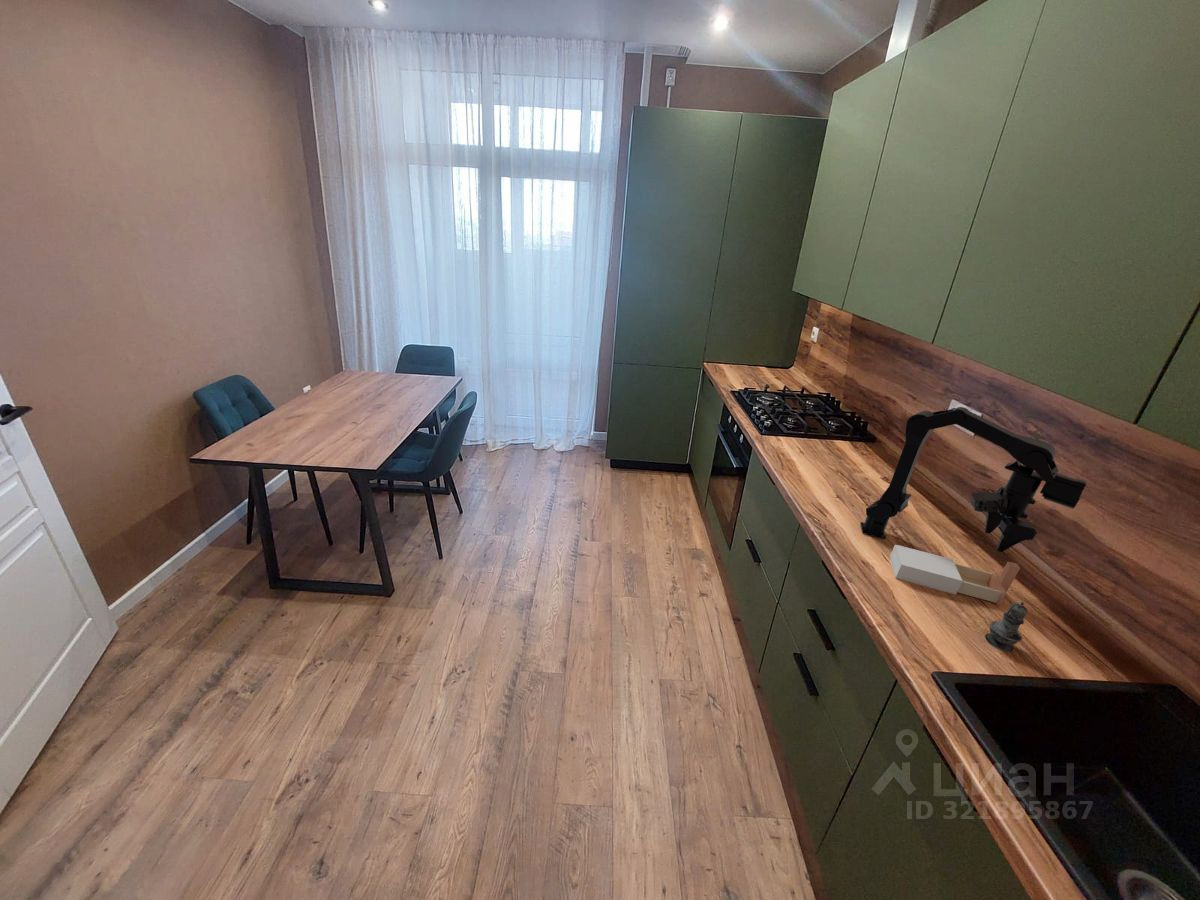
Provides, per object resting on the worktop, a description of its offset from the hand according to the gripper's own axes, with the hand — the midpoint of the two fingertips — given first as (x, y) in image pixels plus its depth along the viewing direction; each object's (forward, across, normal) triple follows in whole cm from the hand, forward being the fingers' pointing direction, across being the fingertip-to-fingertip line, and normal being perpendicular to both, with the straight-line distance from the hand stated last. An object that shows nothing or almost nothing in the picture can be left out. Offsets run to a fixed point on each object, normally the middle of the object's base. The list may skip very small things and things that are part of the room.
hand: (992, 541), depth 125 cm
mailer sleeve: (+12, +6, -14) cm, 19 cm away
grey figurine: (+12, +26, -2) cm, 29 cm away
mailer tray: (+12, +6, -3) cm, 13 cm away
